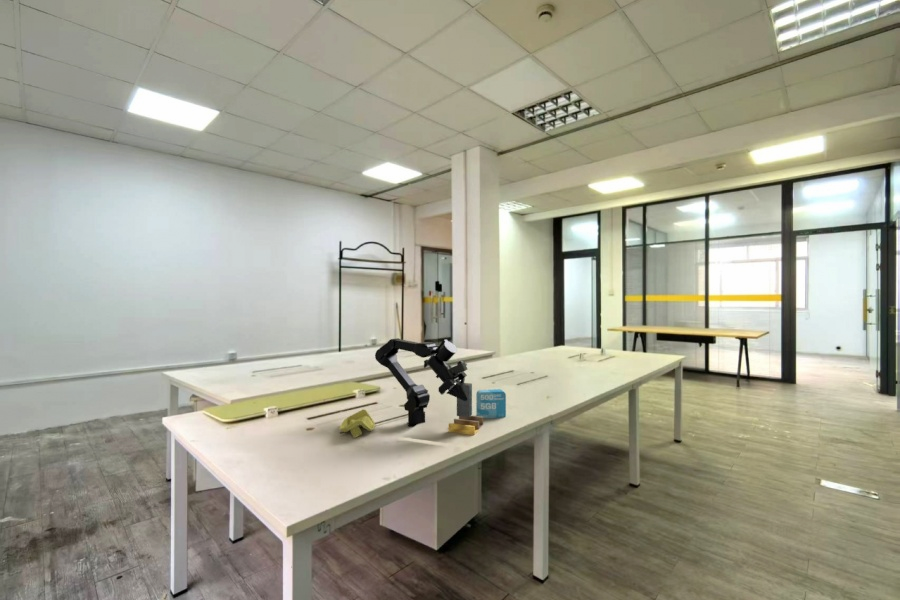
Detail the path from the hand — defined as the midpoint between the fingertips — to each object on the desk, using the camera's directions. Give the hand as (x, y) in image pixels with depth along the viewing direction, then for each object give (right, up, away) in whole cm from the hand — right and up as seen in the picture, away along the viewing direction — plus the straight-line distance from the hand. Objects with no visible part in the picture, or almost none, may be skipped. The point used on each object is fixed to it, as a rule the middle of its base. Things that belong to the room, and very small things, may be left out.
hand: (467, 399), depth 144 cm
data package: (+11, -13, +18) cm, 25 cm away
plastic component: (-43, -13, +2) cm, 45 cm away
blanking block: (-1, -6, 0) cm, 6 cm away
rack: (0, -13, +3) cm, 13 cm away
